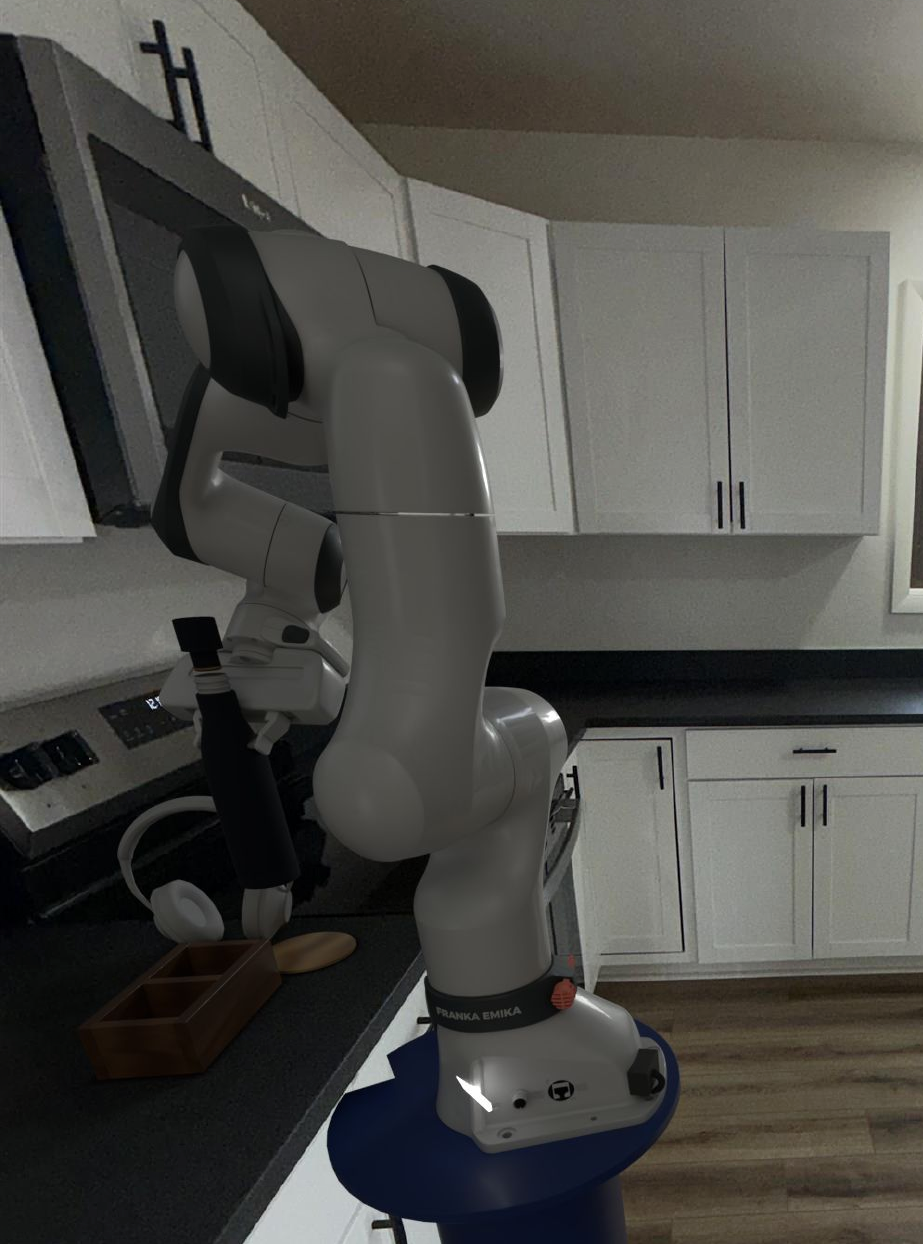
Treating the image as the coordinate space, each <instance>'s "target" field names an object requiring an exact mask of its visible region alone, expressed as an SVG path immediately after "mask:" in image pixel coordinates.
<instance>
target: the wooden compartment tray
mask: <svg viewBox="0 0 923 1244" xmlns="http://www.w3.org/2000/svg"><path fill="white" fill-rule="evenodd" d="M272 946H273V945H272V941H271V939H269V938H268V939H234V940H231V939H230V940H219V941H212V942H193V943H180V944H179V943H177V945H176V946H174V947H173V948H172V949H171V950H169V952H167V953H166V954H165V955H164V956H162V957H161V958H160V959H159V960H158V961H157V962H155V963H154V964H153V965H152V966H150V967H149V968H148V969H147V970H145V972H143V973H142V974H140V976H138V977H137V978H136V979H135V980H134V981H133V982H131V983H130V984H129V985H128V986H126V987H125V988H124V989H123V990H122V991H120V992H119V993H118V994H117V995H115V996H114V997H113V998H112V999H111V1000H110V1001H108V1002H107V1003H106V1004H105V1005H103V1007H101V1008H100V1009H98V1011H96V1012H95V1013H93V1014H92V1016H90V1017H89V1018H88V1019H86V1021H84V1022H83V1023H82V1024H81V1025H79V1026H78V1027H77V1028H76V1032H77V1035H78V1037H79V1039H80V1042H81V1044H82V1046H83V1048H84V1051H85V1053H86V1056H87V1059H88V1061H89V1063H90V1065H91V1068H92V1070H93V1072H94V1075H95V1078H96V1080H97V1081H105V1080H119V1079H133V1078H148V1077H163V1076H176V1075H177V1076H178V1075H191V1074H203V1073H204V1072H205V1071H206V1070H207V1069H208V1067H210V1065H212V1063H213V1062H214V1061H215V1060H216V1059H217V1058H218V1056H219V1055H220V1054H221V1053H222V1052H223V1051H224V1049H225V1048H226V1047H227V1046H228V1045H229V1044H230V1043H231V1041H232V1040H233V1039H234V1038H235V1037H236V1036H237V1035H238V1034H239V1032H240V1031H242V1029H243V1028H244V1027H245V1026H246V1024H247V1023H248V1022H249V1021H250V1020H251V1019H252V1018H253V1017H254V1015H256V1013H257V1012H258V1011H259V1010H260V1009H261V1008H262V1006H264V1004H265V1003H266V1002H267V1001H268V1000H269V999H270V998H271V996H272V995H273V994H274V993H275V992H276V990H277V989H278V988H279V987H280V986H281V985H282V984H283V979H282V976H281V974H280V972H279V969H278V966H277V962H276V959H275V955H274V952H273V948H272Z"/></svg>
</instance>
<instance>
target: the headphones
mask: <svg viewBox="0 0 923 1244" xmlns="http://www.w3.org/2000/svg"><path fill="white" fill-rule="evenodd" d="M191 811H199V812H200V811H202V812H213V813H217V811H216V808H215V804H214V801H213V798H212V796H207V795H190V796H182V797H178V798H174V799H170V800H166V801H163V802H161V803H159V804H156V805H154V806H153V807H151V808H149V809H147V810H146V811H144V812H143V813H141V814H140V815H139V816H138V817H137V818H135V819H134V820H133V821H132V823H131V824H130V825H129V826H128V827H127V829H126V831H125V832H124V834H122V837H121V840H120V841H119V845H118V848H117V853H116V855H117V860H118V861H119V866H120V870H121V874H122V876H123V878H124V880H125V884H126V885H127V888H128V889H129V891H130V892H131V894H133V895H134V896H135V897H136V898H137V899H138V900H139V901H140V902H141V903H142V904H143V905H144V906H145V907H146V908H148V909H149V910H150V911H151V912H152V913H153V922H154V924H155V927H156V928H157V930H158V931H159V932H160V934H162V935H163V936H164V937H165V938H167V939H168V940H171V941H174V942H175V943H177V944H180V943H193V942H212V941H222V939H223V938H224V932H225V926H224V922H223V919H222V915H221V914H220V912H219V910H218V908H217V906H216V905H215V904H214V902H213V901H212V900H211V899H210V897H209V896H207V894H206V893H205V892H204V891H203V890H201V889H200V888H198V887H197V886H196V885H194V884H193V883H191V882H189V881H185V880H181V879H176V880H172V881H170V882H168V883H166V884H164V885H161V886H159V887H157V888H155V889H153V890H152V892H151V895H150V898H149V899H150V900H148V898H146V897H145V895H143V894H142V893H141V891H140V889H139V888H138V885H137V884H136V881H135V877H134V874H133V872H132V865H131V863H132V859H133V856H134V851H135V849H136V847H137V845H138V844H139V841H140V839H141V838H142V836H143V834H144V833H145V832H146V831H147V830H148V829H149V827H151V826H152V825H153V824H155V823H156V822H158V821H161V820H162V819H164V818H166V817H168V816H171V815H174V814H178V813H182V812H191ZM293 883H294V881H292V882H290V883H287V884H286V886H285V884H284V885H281V886H277V887H273V888H267V889H257V890H254V889H246V888H244V892H243V898H242V905H241V927H242V930H243V931H242V932H243V935H244V936H245V938H247V940H250V939H268V938H269V939H270V940H272V938H273V937H274V936H275V935H276V933H277V932H278V931H279V929H280V928H281V927H282V926H283V925H285V924H288V922H289V921H290V918H291V915H292V909H293V908H292V907H293V894H292V891H291V889H292V887H293Z"/></svg>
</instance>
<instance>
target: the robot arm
mask: <svg viewBox="0 0 923 1244" xmlns="http://www.w3.org/2000/svg"><path fill="white" fill-rule="evenodd" d="M176 250H177V251H176V264H175V268H174V273H173V289H172V290H173V298H174V305H175V310H176V315H177V317H178V320H179V321H178V322H179V324H180V326H181V328H182V331H183V334H184V336H185V338H186V340H187V342H188V344H189V345H190V347H191V349H192V350H193V352H194V354H195V355H196V357H197V359H198V362H199V363H198V364H197V365H196V367H195V368H194V370H193V372H192V373H191V376H190V377H189V380H188V382H187V384H186V387H185V389H184V392H183V395H182V398H181V400H180V404H179V408H178V411H177V415H176V418H175V423H174V425H173V430H172V434H171V437H170V442H169V447H168V451H167V455H166V460H165V464H164V469H163V473H162V475H161V476H160V478H159V480H158V481H157V484H156V486H155V488H154V490H153V494H152V497H151V502H150V524H151V527H152V529H153V531H154V533H156V535H157V537H158V539H160V541H161V543H163V545H164V546H165V547H166V548H167V549H168V551H169V553H171V554H172V555H173V556H175V557H178V558H181V559H184V560H188V561H191V562H194V563H197V564H200V565H204V566H207V567H213V568H216V569H219V570H221V571H224V572H226V573H228V574H231V575H234V576H236V577H239V578H242V579H244V580H246V581H245V593H244V596H243V598H242V599H241V600H240V601H239V602H238V603H237V604H236V605H235V608H234V611H233V613H232V614H231V615H232V616H231V617H230V620H229V622H228V626H227V628H226V630H225V632H224V635H223V638H222V639H221V641H222V644H223V649H219V650H217V653H218V656H219V660H220V663H221V665H222V669H220V670H216V671H207V672H197V671H195V670H194V669H193V667H194V666H193V663H192V660H191V657H190V653H189V652H187V653H186V654H185V655H183V656H182V657H181V658H180V659H179V660H178V661H177V663H176V664H175V665H174V666H173V668H172V670H171V672H170V673H169V675H168V677H167V679H166V680H165V681H164V684H163V686H162V687H161V690H160V692H159V694H158V701H159V704H160V705H161V707H162V708H163V709H165V710H166V711H167V712H168V713H170V714H171V715H173V717H176V718H177V719H178V720H181V721H192V722H193V725H194V728H195V732H196V734H195V736H194V739H193V742H192V747H193V748H194V749H195V750H197V751H199V752H200V753H201V732H202V716H201V713H200V709H199V706H198V703H197V700H196V696H195V695H196V693H198V690H197V689H196V688H195V687H196V683H194V682H193V681H194V680H195V679H194V676H195V675H198V674H204V673H216V672H223V673H226V674H227V677H229V680H228V681H229V683H230V684H231V686H230V688H231V689H233V690H235V692H236V695H237V698H238V702H239V705H240V709H241V712H242V715H243V717H244V718H245V719H246V721H247V722H248V724H250V723H251V724H257V723H258V724H265V725H264V726H263V727H262V728H261V729H260V730H259V732H258V733H255V734H251V736H250V738H249V740H250V741H249V742H248V744H247V748H248V749H249V750H250V751H252V752H253V753H255V754H258V755H267V756H269V755H270V753H271V751H272V748H273V746H274V744H275V743H276V742H277V741H278V740H280V738H282V737H283V736H284V735H285V734H286V733H287V732H288V731H289V730H290V729H289V728H290V726H291V725H309V726H311V725H314V726H327V725H329V724H330V723H332V722H333V721H334V720H335V719H336V718H337V717H338V715H339V713H340V709H341V707H342V704H343V700H344V697H345V700H344V705H343V710H342V712H341V715H340V719H339V722H338V724H337V725H336V729H335V731H334V733H333V735H332V736H331V739H330V740H329V741H328V744H327V745H326V747H325V748H324V750H322V752H321V753H320V755H319V756H318V759H317V760H316V763H315V765H314V769H313V774H312V793H313V798H314V801H315V807H316V809H317V812H318V814H319V816H320V818H321V820H322V821H323V823H324V825H325V826H326V828H327V829H328V830H329V831H330V833H331V834H332V835H333V836H334V838H336V839H337V840H338V841H339V842H340V843H341V844H342V845H343V846H345V847H346V848H347V849H349V850H350V851H351V852H353V853H354V854H357V855H359V856H361V857H362V858H365V859H368V860H371V861H375V862H379V863H380V862H381V863H382V862H383V863H390V862H391V863H392V862H397V861H402V860H408V859H413V858H417V857H421V856H424V855H428V854H429V858H428V861H427V864H426V867H425V870H424V871H423V874H422V876H421V878H420V880H419V882H418V884H417V886H416V889H415V892H414V896H413V914H414V919H415V924H416V928H417V929H416V930H417V934H418V939H419V943H420V948H421V953H422V957H423V962H424V967H425V971H426V972H425V973H426V975H425V976H424V977H423V986H424V997H425V1005H426V1010H427V1014H428V1017H429V1018H430V1022H431V1026H432V1030H434V1031H435V1032H437V1037H438V1047H439V1087H438V1095H437V1101H436V1111H437V1114H438V1116H439V1118H440V1119H441V1121H442V1122H443V1123H444V1124H445V1125H447V1126H448V1127H449V1128H451V1129H453V1130H455V1131H457V1132H459V1133H462V1134H464V1135H467V1136H469V1137H470V1138H472V1139H473V1141H474V1142H475V1144H476V1145H477V1146H478V1147H479V1149H481V1150H482V1151H483V1152H485V1153H499V1152H504V1151H509V1150H514V1149H519V1148H524V1147H529V1146H534V1145H539V1144H544V1143H549V1142H554V1141H559V1140H564V1139H569V1138H574V1137H579V1136H584V1135H589V1134H594V1133H599V1132H604V1131H609V1130H614V1129H619V1128H624V1127H629V1126H634V1125H638V1124H642V1123H645V1122H646V1121H648V1120H649V1119H650V1118H651V1117H652V1116H653V1115H654V1114H655V1112H656V1111H657V1110H658V1108H659V1106H660V1105H661V1103H662V1101H663V1098H664V1095H665V1091H666V1085H667V1067H666V1062H665V1057H664V1054H663V1052H662V1050H661V1048H660V1047H659V1045H658V1044H657V1043H656V1042H655V1041H653V1040H652V1039H651V1038H647V1037H640V1035H639V1032H638V1029H637V1027H636V1024H635V1022H634V1020H633V1018H634V1017H632V1015H631V1014H630V1012H629V1011H627V1009H626V1008H625V1007H623V1006H621V1005H619V1004H616V1003H614V1002H612V1001H609V1000H608V999H605V998H603V997H600V996H599V995H596V994H594V993H592V992H590V991H589V990H587V989H585V988H582V987H580V986H579V985H578V982H577V981H578V980H577V975H576V969H575V968H576V964H575V958H574V954H572V953H570V955H569V958H568V961H565V960H563V959H562V958H560V957H559V956H557V955H556V954H555V953H554V952H552V951H551V943H550V936H549V930H548V928H549V927H548V920H547V912H546V902H545V895H544V865H545V854H546V845H547V838H548V828H549V820H550V814H551V805H552V801H553V800H552V799H553V795H554V791H555V787H556V785H557V781H558V779H559V776H560V774H561V772H562V770H563V768H564V765H565V763H566V760H567V756H568V750H569V749H568V748H569V745H568V735H567V731H566V729H565V725H564V723H563V721H562V719H561V717H560V715H559V714H558V712H557V711H556V709H555V708H554V707H553V706H552V705H551V704H550V703H549V702H548V701H547V700H546V699H545V698H543V697H542V696H541V695H539V694H537V693H535V692H533V691H531V690H528V689H525V688H519V687H510V686H509V687H508V686H507V687H506V686H486V678H487V672H488V668H489V663H490V660H491V657H492V654H493V651H494V649H495V646H496V644H497V643H498V642H499V640H500V638H501V636H502V634H503V632H504V629H505V625H506V620H507V608H506V599H505V591H504V583H503V574H502V565H501V558H500V557H501V556H500V549H499V539H498V531H497V523H496V516H494V515H495V507H494V501H493V493H492V486H491V481H490V476H489V471H488V466H487V460H486V457H485V452H484V447H483V442H482V438H481V435H480V430H479V427H478V424H477V420H476V419H479V418H482V417H484V416H485V415H487V414H488V413H490V411H491V410H492V408H493V406H494V405H495V404H496V402H497V400H498V398H499V396H500V394H501V391H502V387H503V383H504V374H505V373H504V372H505V354H504V353H505V352H504V351H505V350H504V342H503V335H502V331H501V326H500V322H499V320H498V316H497V313H496V311H495V310H494V307H493V306H492V303H490V301H489V299H488V298H487V296H486V295H485V293H484V291H483V290H482V289H481V287H480V286H479V285H478V284H477V283H475V282H474V281H473V280H471V279H469V278H468V277H466V276H463V275H462V274H460V273H458V272H456V271H453V270H451V269H448V268H446V267H444V266H441V265H438V264H429V265H427V266H424V265H422V264H419V263H416V262H413V261H410V260H407V259H403V258H401V257H397V256H394V255H392V254H388V253H383V252H380V251H375V250H371V249H367V248H363V247H359V246H355V245H354V246H353V245H350V244H348V243H346V241H343V240H339V239H333V238H329V237H322V236H319V235H317V234H314V233H313V232H309V231H305V230H300V229H292V228H289V229H288V228H287V229H285V228H284V229H277V230H273V231H247V229H246V227H244V226H242V225H240V224H208V225H200V226H194V227H190V228H189V229H188V231H187V232H186V233H185V235H184V236H183V238H182V239H181V241H180V242H179V244H178V245H177V249H176ZM224 452H237V453H244V454H251V455H256V456H259V457H264V458H267V459H272V460H276V461H279V462H282V463H287V464H291V465H296V466H304V467H305V466H307V467H308V466H309V467H314V466H315V467H316V466H324V465H327V467H328V475H329V476H328V477H329V483H330V491H331V496H332V503H333V508H334V511H335V512H354V513H335V518H336V522H333V521H332V520H330V519H328V518H327V517H326V516H322V515H320V514H318V513H316V512H313V511H311V510H309V509H307V508H304V507H302V506H300V505H298V504H295V503H293V502H290V501H288V500H287V501H286V500H284V499H282V498H279V497H278V496H275V495H273V494H271V493H268V492H266V491H264V490H261V489H259V488H256V487H254V486H252V485H249V484H247V483H244V482H242V481H240V480H238V479H236V478H234V477H233V476H231V475H229V474H227V472H225V471H223V470H222V469H221V468H220V463H221V461H222V458H223V453H224ZM355 512H356V513H355ZM357 512H359V513H357ZM397 513H398V514H397ZM459 514H461V515H459ZM465 514H466V515H465ZM470 514H471V515H470ZM491 515H493V516H491ZM346 587H347V588H348V595H349V601H350V608H351V617H352V655H351V663H349V661H347V659H346V658H345V657H344V655H342V653H341V652H340V651H339V650H338V649H337V648H336V647H335V646H334V645H333V644H332V643H331V642H330V641H329V640H328V639H327V638H326V637H325V636H323V634H321V633H320V628H321V625H322V624H323V623H324V622H325V620H326V619H327V618H328V616H329V613H330V612H331V611H332V610H334V609H336V608H338V607H339V606H340V605H341V601H342V598H343V596H344V592H345V590H346ZM348 674H349V679H348V685H347V691H346V681H345V679H344V678H346V677H347V676H348ZM345 693H346V696H345Z"/></svg>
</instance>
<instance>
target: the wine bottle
mask: <svg viewBox="0 0 923 1244" xmlns="http://www.w3.org/2000/svg"><path fill="white" fill-rule="evenodd" d="M171 623H172V627H173V630H174V633H175V637H176V640H177V643H178V646H179V649H180V652H182V653H190V657H191V660H192V663H193V666H194V667H193V669H194V670H195V671H197V672H207V671H216V670H220V669H222V665H221V663H220V660H219V656H218V653H217V650H219V649H223V644H222V638H221V634H220V630H219V627H218V624H217V620H216V617H214V616H209V615H208V616H207V615H206V616H205V615H204V616H201V615H200V616H185V617H177V618H172V619H171ZM194 679H195V680H194V681H193V682H194V683H196V687H195V688H196V689H197V690H198V693H196V695H195V696H196V700H197V703H198V706H199V709H200V713H201V716H202V732H201V752H200V755H201V762H202V764H201V765H202V769H203V772H204V776H205V779H206V783H207V785H208V788H209V791H210V794H211V797H212V798H213V801H214V804H215V808H216V811H217V812H216V814H217V817H218V820H219V824H220V826H221V831H222V833H223V837H224V839H225V842H226V846H227V849H228V852H229V856H230V858H231V862H232V864H233V865H232V866H233V868H234V870H235V874H236V877H237V880H238V884H239V886H240V887H241V888H243V889H245V888H246V889H254V890H257V889H267V888H273V887H277V886H281V885H284V886H285V885H287V883H290V882H292V881H293V882H294V881H295V880H297V879H298V878H300V876H301V869H300V865H299V862H298V858H297V854H296V852H295V848H294V844H293V841H292V837H291V834H290V830H289V826H288V823H287V818H286V816H285V812H284V808H283V806H282V801H281V798H280V795H279V790H278V788H277V787H278V786H277V783H276V780H275V776H274V773H273V769H272V766H271V762H270V758H269V755H258V754H255V753H253V752H252V751H250V750H249V749H248V748H247V744H248V742H249V741H250V740H249V738H250V736H251V734H256V732H255V730H254V729H253V728H252V726H251V725H250V723H248V722H247V721H246V719H245V718H244V717H243V715H242V712H241V709H240V705H239V702H238V698H237V695H236V692H235V690H233V689H231V688H230V686H231V684H230V683H229V681H228V680H229V677H227V674H226V673H223V672H216V673H204V674H198V675H195V676H194Z"/></svg>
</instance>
